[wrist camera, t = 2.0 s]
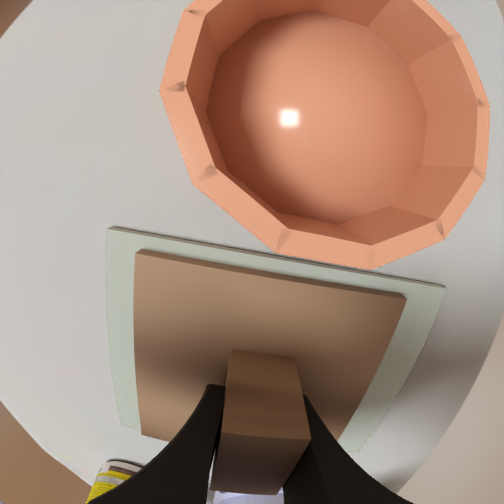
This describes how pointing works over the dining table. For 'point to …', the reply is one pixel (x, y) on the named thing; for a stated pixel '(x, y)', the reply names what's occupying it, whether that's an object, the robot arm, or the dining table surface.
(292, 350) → the walnut lid
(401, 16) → the terracotta bowl
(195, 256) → the sage rubber mat
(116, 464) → the supplement bottle
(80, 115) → the dining table surface
